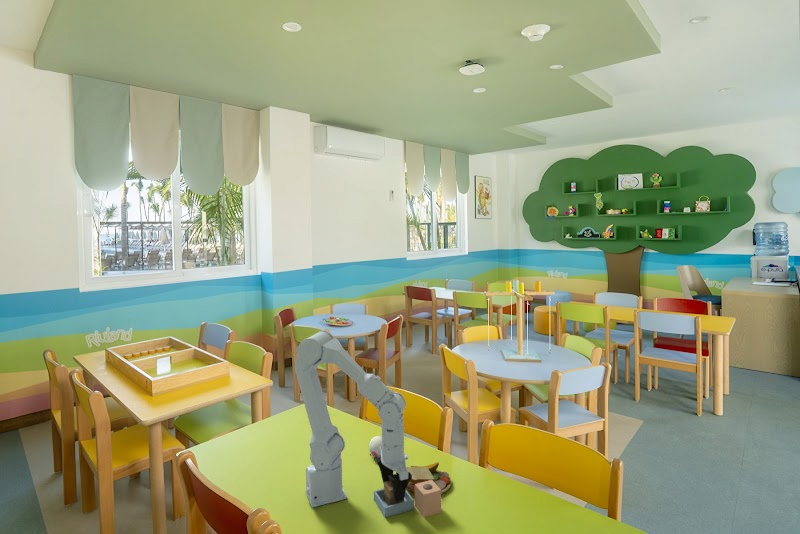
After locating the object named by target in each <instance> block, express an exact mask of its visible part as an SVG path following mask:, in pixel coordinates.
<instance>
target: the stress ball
mask: <svg viewBox="0 0 800 534" xmlns="http://www.w3.org/2000/svg"><path fill="white" fill-rule="evenodd" d="M380 446H382V435H381V436H380V435H377V436H373V437H372V438H371V440H370V442H369V444H368V450H369V452H370V454H369V456H371V455H372V456H373V457H374V458H378V457H381V455H380V453H379V447H380Z"/></svg>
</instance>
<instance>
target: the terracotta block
mask: <svg viewBox="0 0 800 534" xmlns="http://www.w3.org/2000/svg"><path fill="white" fill-rule="evenodd" d="M414 508H416V510H417V511H418V513H419V514H420V515H421V516H422V517H423V518H426V517H431V516H433V515H436V514H439V513H442V494H441V489H440V488H439V487H438V486H437V485H436V484H435V483H434V481H433V480H429V481H425V482H421V483H418V484H415V492H414Z"/></svg>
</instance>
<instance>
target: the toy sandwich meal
mask: <svg viewBox="0 0 800 534" xmlns="http://www.w3.org/2000/svg"><path fill="white" fill-rule="evenodd" d="M439 465H440V463H439V462H438V461H437V462H434V463H432V464H429V465H424V466H420V465H419V466H417V465H410V466H406V469H407V470H408V472H410V474H411V475H412V479H411V480H410V482H409V483H408V485H407V488H406V490H408V491H410V492H411V493H415V484H418V483H421V482H425V481H429V480H433V481H434V483H435V484H436V485H437V486H438V487H439V488H440V489H441V495H443V494H444V493H446V492H447V491H448V490H449V489H450V487H451V486H452V479H451V477H450V474H449V473H448V472H447V471H441V470H438V468H439Z"/></svg>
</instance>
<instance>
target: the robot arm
mask: <svg viewBox="0 0 800 534" xmlns="http://www.w3.org/2000/svg"><path fill="white" fill-rule="evenodd" d="M295 352H296V358H295V363H294V372H295V375H296V379H297V383H298V386H299V391H300V393H301V397H302V400H303V405H304V408H305V411H306V414H307V419H308V421H309V425H310V429H311V437H310V441H309V448H310V455H309V460H310V463H311V465H309V466H306V468H305V484H306V485H305V487H306V488H305V494H306V496H307V498H308V501H309V504H310V506H311V508H316V507H320V506H323V505H327V504H330V503H331V504H332V503H335V502H336V503H337V502H339V501H343V500H347V499H348V495H347V493H346V492H345V490H344V487H343V467H342V465H343V464H342V462H343V461H342V453H343V451H344V450H345V447H346V442H345V438H344V437H343V436H342V435H341V434H340V432H339V429H338V427H337V426H336V425H334V424H333V423H332V420H331V417H330V413H329V409H328V406H327V402H326V399H325V396H324V392H323V387H322V385H321V381H320V377H319V374H318V370H317V368H318V367H319V365H320V364H332V365H333V364H334V365H335V366H336V367H337V368H339V369H340V370H341V371H342V372H343V373H345V375H347V376H348V377H349V378H351V379H352V380H353V381H354V382H355V383H356V384H357V391H358V392H359V393H360V394H361V395H362V396H363V397H364V398H365V399H366V400H367V401H368V402H370V404H372V406H374V407H375V409H377V415H378V417H379V418H380V420H381V437H382V446H380V447H379V453H380V455H381V457H375V462H376V464H377V466H378V468H379V471H380V475H381V480H382V483H383V485H384V482H387V481H391V483H392V487H393V493H394V499H395V501H396V502H398V501H402V500H403V499H404V496H405V492H406V491H407V485H408V483H409V482H410V480H411V479H412V475H411V474H410V472H408V470H407V469H406V467H407V463H406V460H408V459H409V455H408V454H407V453H405V424H404V414H403V413H404V411H405V409H406V406H407V401H406V399H405V398H404V396H403V394H402V393H401V392H397V391H394V390H393V389H390V387H388V386H387V385H386V384H385V383H384V382H383V381H381V380H382V378H381V376H379V375H375V374H374V373H368V372H366V371H365V370H364V369H363V368H362V367H361V366H360V365H359V363H357V362H356V360H355V359H354V358H353V356H351V355H350V354H349V352H348V351H346V350H345V348H344V347H343V345H341V343H340V341H339V339H337V338H336V337H334V336H333V335H332V333H331V332H329V331H327V330H320V331H318V332H316V333H314V334H313V335H310V336H309V337H307V338H304V339H303V340H302V341H300V343H299V345H298V346H297V347H296V348H295ZM394 472H395V474H394Z"/></svg>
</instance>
